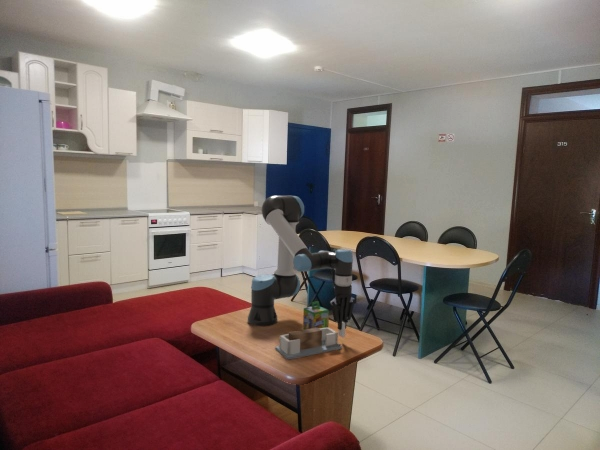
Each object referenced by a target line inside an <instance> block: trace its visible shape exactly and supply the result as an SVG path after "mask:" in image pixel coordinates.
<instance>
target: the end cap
mask: <svg viewBox="0 0 600 450" xmlns="http://www.w3.org/2000/svg"><path fill="white" fill-rule="evenodd" d="M320 329H321V330H322V341H323V340H325V346H329V345H334V344H338V337H339V332H338V331H335V330H334V329H332V328H331V327H329V326H328V327H326V328H320Z"/></svg>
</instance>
